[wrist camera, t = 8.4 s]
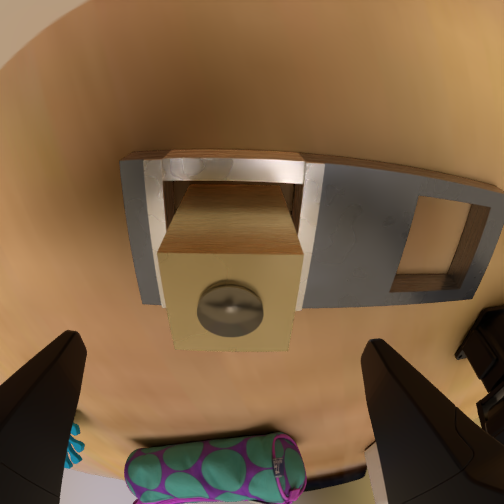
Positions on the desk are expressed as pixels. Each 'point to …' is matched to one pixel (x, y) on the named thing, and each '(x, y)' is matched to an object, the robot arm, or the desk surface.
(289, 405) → the desk surface
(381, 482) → the photo printer
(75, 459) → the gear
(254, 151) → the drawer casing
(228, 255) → the wooden pull-out drawer
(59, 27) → the desk surface
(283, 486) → the pencil case
